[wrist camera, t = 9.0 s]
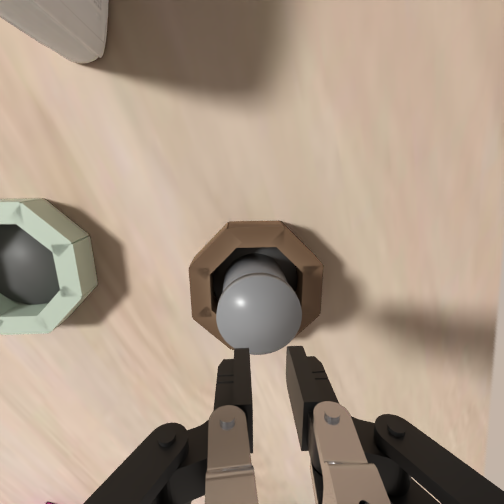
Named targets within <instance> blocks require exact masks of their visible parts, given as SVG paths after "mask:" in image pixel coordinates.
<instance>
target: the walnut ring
mask: <svg viewBox="0 0 504 504" xmlns="http://www.w3.org/2000/svg"><path fill="white" fill-rule="evenodd" d="M251 253H259V254H264V255H267V256H269V257H271V258H272V259H274V260H275V261H276V262H277V263H278V264H279V266H280V267H281V269H282V271H283V273H284V275H285V278H286V280H287V282H288V284H289V285H290V286H291V287H292V289H293V290H294V291H296V295H297V297H298V300H299V302H300V305H301V310H302V320H301V325H300V328H299V330H298V332H297V334H296V335H295V337H296V336H297V335H298V334H299V333H300V332H301V331H302V330H303V329H305V328H306V327H307V326H308V325H309V324H310V323H311V322H312V321H313V320H315V319H316V318H317V317H318V316H319V314H320V310H321V293H322V277H323V265H322V263H321V262H320V260H319V259H318V258H317V257H316V256H315V255H314V254H313V253H312V252H311V251H310V250H309V249H308V248H307V247H306V246H305V245H304V244H303V243H302V242H301V241H300V240H299V239H298V238H297V237H296V236H295V235H294V234H293V233H292V232H291V231H290V230H289V229H288V228H287V227H286V226H285V225H284V224H283V223H282V222H280V221H234V222H229V223H227V224H226V225H225V226H224V227H223V228H222V229H221V230H220V231H219V232H218V233H217V234H216V235H215V236H214V237H213V238H212V239H211V240H210V241H209V242H208V243H207V244H206V245H205V247H204V248H203V249H202V250H201V251H200V252H199V253H198V254H197V255H196V256H195V257H194V259H193V261H192V263H191V265H190V267H189V279H190V293H191V307H192V317H193V319H194V320H195V321H196V322H198V323H199V324H200V325H201V326H203V327H204V328H205V329H206V330H207V331H209V332H210V333H211V334H212V335H214V336H215V337H216V338H217V339H219V340H220V341H221V342H222V343H223V344H225V345H226V346H227V347H228V348H230V349H232V350H234V348H233V347H232V346H230V345H229V344H228V343H227V342H226V341H225V340H224V338H223V337H222V335H221V334H220V332H219V329H218V326H217V321H216V313H217V307H218V302H219V299H220V296H221V294H222V292H223V285H224V278H225V274H226V271H227V269H228V267H229V266H230V265H231V263H232V262H233V261H235V260H236V259H237V258H239V257H241V256H243V255H246V254H251ZM294 265H295V266H297V268H296V269H295V266H294ZM213 271H214V274H213ZM214 292H215V295H216V297H217V299H218V300H217V299H216V298H215V297H214Z"/></svg>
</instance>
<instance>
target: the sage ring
mask: <svg viewBox="0 0 504 504" xmlns="http://www.w3.org/2000/svg"><path fill="white" fill-rule="evenodd" d="M97 284H98V282H97V276H96V269H95V263H94V257H93V251H92V245H91V239H90V236H89V234H87V233H86V232H85V231H84V230H83V229H81V228H80V227H79V226H78V225H76V224H75V223H74V222H73V221H71V220H70V219H69V218H68V217H67V216H65V215H64V214H63V213H62V212H60V211H59V210H58V209H57V208H55V207H54V206H53V205H52V204H51V203H49V202H48V201H47V200H46V199H43V198H34V199H0V335H11V334H44V333H51V332H52V331H53V330H54V329H55V328H56V327H57V326H59V325H60V324H61V323H62V322H63V321H64V320H66V319H67V318H68V317H69V316H70V315H71V314H72V313H73V311H74V310H75V309H76V308H77V307H78V306H79V305H80V304H81V303H82V302H83V300H84V299H85V298H86V297H87V296H88V295H89V294H90V293H91V292H92V291H93V289H94V288H95V287H96V286H97Z"/></svg>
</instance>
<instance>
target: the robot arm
mask: <svg viewBox="0 0 504 504" xmlns="http://www.w3.org/2000/svg"><path fill="white" fill-rule="evenodd" d="M286 382H287V389H288V393H289V398H290V402H291V407H292V411H293V416H294V420H295V425H296V429H297V434H298V438H299V443H300V447H301V451H309V454H310V458H311V460H310V472H311V478H312V484H313V490H314V496H315V503H316V504H440V503H439V502H438V501H436V500H435V499H434V498H433V497H432V496H431V495H430V494H429V493H427V492H426V491H425V490H424V489H423V488H422V487H421V486H419V485H418V484H417V483H416V482H415V481H414V480H413V479H412V478H411V477H413V478H414V479H415V480H416V481H417V482H418V483H419V484H420V485H422V486H423V487H424V488H425V489H426V490H427V491H428V492H430V493H431V494H432V495H433V496H434V497H435V498H436V499H438V500H439V501H440V502H441V504H504V491H502V490H501V489H500V488H498V487H497V486H495V485H494V484H493V483H491V482H490V481H489V480H487V479H486V478H485V477H483V476H482V475H480V474H479V473H478V472H476V471H475V470H474V469H472V468H471V467H470V466H468V465H467V464H465V463H464V462H463V461H461V460H460V459H459V458H457V457H456V456H454V455H453V454H452V453H450V452H449V451H448V450H446V449H445V448H443V447H442V446H441V445H439V444H438V443H437V442H435V441H434V440H432V439H431V438H430V437H428V436H427V435H426V434H424V433H423V432H421V431H420V430H419V429H417V428H416V427H415V426H413V425H412V424H410V423H409V422H408V421H406V420H405V419H403V418H401V417H399V416H396V415H391V414H384V415H381V416H379V417H378V418H377V419H376V421H375V423H372V422H367V421H363V420H359V419H356V418H354V417H352V416H351V415H350V413H349V412H348V410H347V409H346V408H345V407H343V406H342V405H340V404H339V402H338V400H337V398H336V395H335V393H334V391H333V388H332V386H331V384H330V381H329V379H328V377H327V374H326V373H325V370H324V367H323V365H322V363H321V362H320V361H319V360H318V359H317V358H316V357H315V356H310V357H307V356H306V353H305V351H304V348H303V346H287V357H286ZM250 453H253V409H252V388H251V371H250V354H249V348H234V359H223V361H222V362H221V364H220V365H219V366H218V373H217V384H216V392H215V402H214V410H213V412H212V414H211V415H210V417H209V420H208V421H206V422H205V423H204V424H202V425H201V426H198V427H196V428H193V429H190V430H186V429H185V427H184V426H182V425H181V424H178V423H167V424H164V425H161V426H159V427H158V428H156V429H155V430H154V431H153V432H152V433H151V434H150V435H149V436H148V437H147V438H146V439H145V440H144V441H143V442H142V443H141V444H140V445H139V446H138V447H137V448H136V449H135V450H134V451H133V452H132V454H131V455H130V456H129V457H128V458H127V459H126V460H125V461H124V462H123V463H122V464H121V465H120V466H119V467H118V468H117V469H116V470H115V471H114V472H113V473H112V474H111V475H110V476H109V477H108V479H107V480H106V481H105V482H104V483H103V484H102V485H101V486H100V487H99V488H98V489H97V490H96V491H95V492H94V493H93V494H92V495H91V496H90V497H89V498H88V499H87V500H86V501H85V503H84V504H191V501H192V500H194V499H196V498H199V497H201V496H203V495H205V504H258V497H257V489H256V481H255V474H254V467H253V466H252V463H251V455H250Z"/></svg>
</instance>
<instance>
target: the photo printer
mask: <svg viewBox="0 0 504 504" xmlns="http://www.w3.org/2000/svg"><path fill="white" fill-rule="evenodd" d="M108 2H109V0H0V17H1V18H2V19H4V20H5V21H7V22H8V23H10V24H12V25H13V26H14V27H16V28H18V29H19V30H21V31H22V32H24V33H25V34H27V35H28V36H30V37H31V38H33V39H35V40H36V41H38V42H39V43H41V44H42V45H44V46H46V47H48V48H50V49H52V50H53V51H55V52H57V53H58V54H60V55H61V56H63V57H64V58H66V59H68V60H70V61H72V62H76V63H89V62H92V61H94V60H96V59H97V58H98V57H99V58H101V57H102V56H103V54H104V49H105V44H106V37H107V22H108Z"/></svg>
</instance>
